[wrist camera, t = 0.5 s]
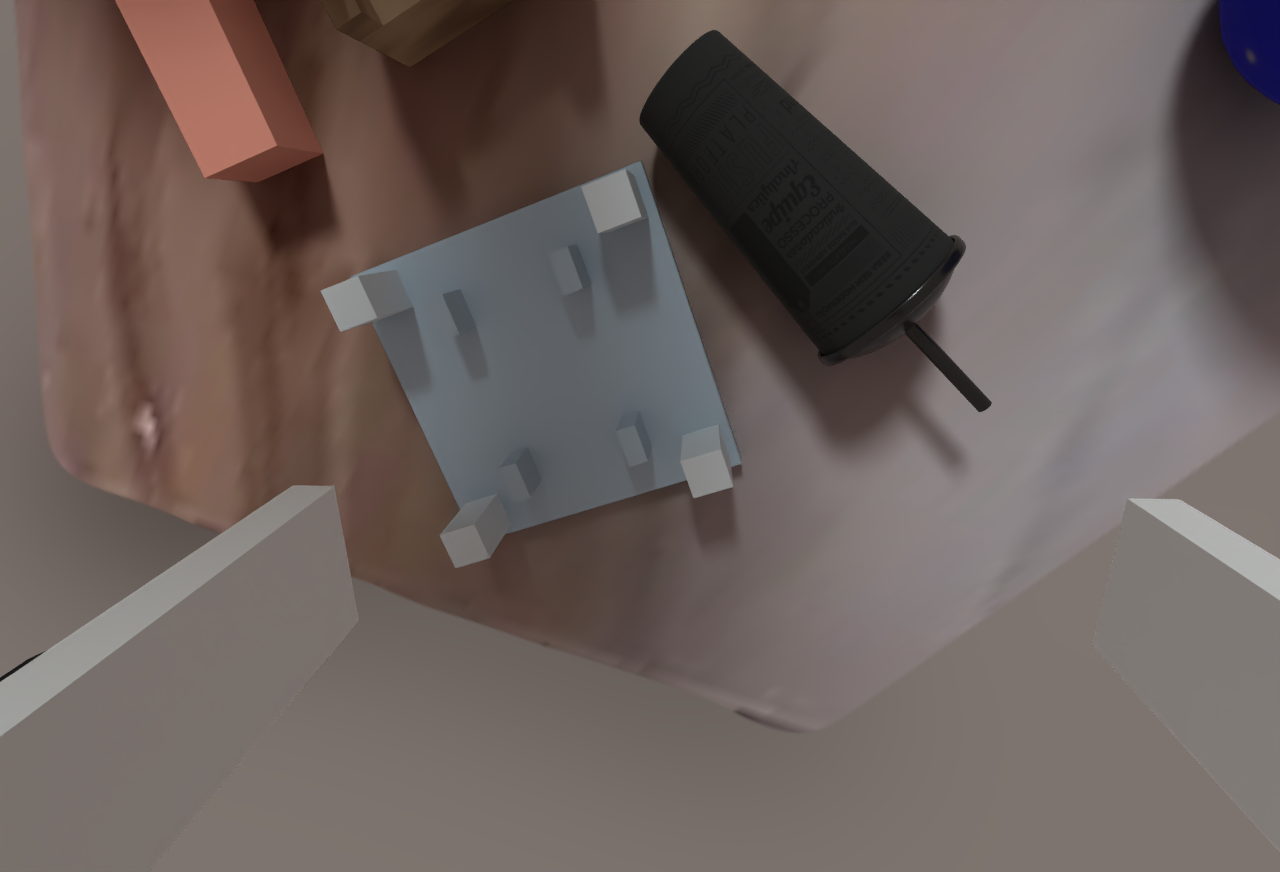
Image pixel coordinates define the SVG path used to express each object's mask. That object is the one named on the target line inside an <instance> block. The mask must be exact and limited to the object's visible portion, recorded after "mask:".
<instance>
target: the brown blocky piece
mask: <svg viewBox="0 0 1280 872" xmlns="http://www.w3.org/2000/svg"><path fill="white" fill-rule="evenodd" d="M512 1H514V0H321V2H322V4H323V6H324V8H325V9H326V11H327V13H328V15H329V17H330V18H331V20H332V22H333V24H334V26H335V28H336V29H337V30H339V31H341V32H343V33H345V34H347V35H348V36H350V37H352V38H354V39H356V40H358V41H360V42H362V43H364V44H366V45H368V46H370V47H371V48H373V49H375V50H377V51H379V52H381V53H383V54H385V55H387V56H389V57H391V58H393V59H395V60H396V61H398V62H400V63H402V64H404V65H406V66H408V67H411V66H413V65H414V64H416V63H418V62H419V61H421V60H422V59H424V58H425V57H427V56H428V55H430V54H431V53H433V52H435V51H436V50H438V49H439V48H441V47H442V46H444V45H445V44H447V43H449V42H450V41H452V40H453V39H455V38H456V37H458V36H459V35H461V34H462V33H464V32H466V31H467V30H469V29H470V28H472V27H473V26H475V25H476V24H478V23H480V22H481V21H483V20H484V19H486V18H487V17H489V16H490V15H492V14H493V13H495V12H497V11H498V10H500V9H501V8H503V7H504V6H506V5H507V4H509V3H510V2H512Z"/></svg>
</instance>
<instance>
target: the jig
mask: <svg viewBox="0 0 1280 872" xmlns="http://www.w3.org/2000/svg"><path fill="white" fill-rule="evenodd" d="M321 293H322V295H323V297H324V299H325V301H326V303H327V305H328V307H329V309H330V311H331V313H332V316H333V318H334V320H335V322H336V324H337V326H338V328H339V330H340V332H342V331H345V330H348V329H352V328H355V327H358V326H361V325H365V324H368V323H371V322H372V324H373V326H374V328H375V330H376V332H377V334H378V337H379V339H380V341H381V343H382V345H383V347H384V349H385V351H386V354H387V356H388V358H389V360H390V362H391V364H392V366H393V368H394V371H395V373H396V375H397V377H398V379H399V381H400V383H401V385H402V388H403V390H404V392H405V394H406V396H407V398H408V400H409V402H410V404H411V407H412V409H413V411H414V413H415V415H416V417H417V419H418V421H419V424H420V426H421V428H422V430H423V432H424V434H425V436H426V438H427V441H428V443H429V445H430V447H431V449H432V451H433V453H434V455H435V458H436V460H437V462H438V464H439V466H440V468H441V470H442V472H443V475H444V477H445V479H446V481H447V483H448V485H449V487H450V489H451V492H452V494H453V496H454V498H455V500H456V502H457V504H458V506H459V509H460V511H459V512H458V513H457V515H456V516H455V517H454V518H453V519H452V521H451V522H450V523H449V524H448V525H447V527H446V528H445V529H444V530H443V531H442V532H441V534H440V535H439V536H440V538H441V540H442V542H443V544H444V546H445V548H446V550H447V552H448V554H449V556H450V558H451V560H452V562H453V564H454V566H455V568H458V567H462V566H465V565H469V564H472V563H475V562H479V561H482V560H486V559H489V558H490V557H491V556H492V554H493V552H494V551H495V549H496V548H497V546H498V544H499V543H500V541H501V540H502V538H503V537H504V535H505V534H509V533H512V532H515V531H519V530H522V529H525V528H529V527H532V526H535V525H539V524H542V523H545V522H549V521H552V520H556V519H559V518H562V517H566V516H569V515H572V514H576V513H579V512H582V511H586V510H589V509H592V508H596V507H599V506H602V505H606V504H609V503H612V502H616V501H619V500H622V499H626V498H629V497H632V496H636V495H639V494H642V493H646V492H649V491H652V490H656V489H659V488H662V487H666V486H669V485H673V484H676V483H679V482H683V481H686V480H687V482H688V485H689V487H690V490H691V493H692V496H693V498H697V497H701V496H704V495H707V494H711V493H714V492H718V491H721V490H724V489H728V488H731V487H733V479H732V470H731V467H733V466H736V465H739V464H742V461H741V456H740V453H739V450H738V447H737V444H736V441H735V438H734V435H733V432H732V429H731V426H730V423H729V420H728V417H727V414H726V411H725V408H724V405H723V402H722V399H721V396H720V393H719V390H718V387H717V384H716V381H715V378H714V375H713V372H712V369H711V366H710V363H709V360H708V357H707V354H706V351H705V348H704V345H703V342H702V339H701V336H700V333H699V330H698V327H697V324H696V321H695V318H694V315H693V312H692V309H691V306H690V303H689V300H688V297H687V294H686V291H685V288H684V285H683V282H682V279H681V276H680V273H679V270H678V267H677V264H676V261H675V258H674V255H673V252H672V249H671V246H670V243H669V240H668V237H667V234H666V231H665V228H664V225H663V222H662V219H661V216H660V213H659V210H658V207H657V204H656V201H655V198H654V195H653V192H652V189H651V186H650V183H649V180H648V177H647V174H646V171H645V168H644V165H643V162H642V161H639V162H636V163H634V164H631V165H629V166H626V167H624V168H621V169H619V170H616V171H614V172H611V173H609V174H606V175H604V176H601V177H599V178H596V179H594V180H591V181H589V182H586V183H584V184H581V185H579V186H576V187H574V188H571V189H569V190H566V191H564V192H561V193H559V194H556V195H554V196H551V197H549V198H546V199H544V200H541V201H539V202H536V203H534V204H531V205H529V206H526V207H524V208H521V209H519V210H516V211H514V212H511V213H509V214H506V215H504V216H501V217H499V218H496V219H494V220H491V221H489V222H486V223H484V224H481V225H479V226H476V227H474V228H471V229H469V230H466V231H464V232H461V233H459V234H456V235H454V236H451V237H449V238H446V239H444V240H441V241H439V242H436V243H434V244H431V245H429V246H426V247H424V248H421V249H419V250H416V251H414V252H411V253H409V254H406V255H404V256H401V257H399V258H396V259H394V260H391V261H389V262H386V263H384V264H381V265H379V266H376V267H374V268H371V269H369V270H366V271H364V272H361V273H359V274H356V275H354V276H351V279H349V280H346V281H344V282H341V283H339V284H336V285H334V286H331V287H329V288H326V289H324V290H321Z"/></svg>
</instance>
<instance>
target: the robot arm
mask: <svg viewBox="0 0 1280 872" xmlns="http://www.w3.org/2000/svg"><path fill="white" fill-rule="evenodd" d="M358 621H359V617H358V612H357V607H356V601H355V595H354V590H353V585H352V579H351V574H350V568H349V563H348V557H347V552H346V547H345V541H344V536H343V530H342V525H341V519H340V514H339V509H338V503H337V498H336V492H335V487H334V486H296V485H293V486H291V487H290V488H288V489H287V490H285V491H284V492H282V493H281V494H279V495H278V496H276V497H275V498H274V499H272V500H271V501H269V502H268V503H266V504H265V505H263V506H262V507H260V508H259V509H257V510H256V511H254V512H253V513H251V514H250V515H248V516H247V517H245V518H244V519H242V520H241V521H239V522H238V523H236V524H235V525H233V526H232V527H230V528H229V529H227V530H226V531H224V532H223V533H221V534H220V535H218V536H217V537H215V538H214V539H212V540H211V541H209V542H208V543H207V544H205V545H204V546H202V547H201V548H199V549H198V550H196V551H195V552H193V553H192V554H190V555H189V556H187V557H186V558H184V559H183V560H182V561H180V562H178V563H177V564H175V565H174V566H172V567H171V568H169V569H168V570H166V571H165V572H163V573H162V574H160V575H159V576H157V577H156V578H155V579H153V580H151V581H150V582H148V583H147V584H146V585H144V586H143V587H141V588H140V589H138V590H137V591H135V592H134V593H132V594H131V595H129V596H128V597H126V598H125V599H123V600H122V601H121V602H119V603H117V604H116V605H114V606H113V607H111V608H110V609H108V610H107V611H105V612H104V613H103V614H101V615H99V616H98V617H96V618H95V619H93V620H92V621H90V622H89V623H88V624H86V625H84V626H83V627H82V628H80V629H79V630H77V631H76V632H74V633H73V634H71V635H70V636H68V637H67V638H65V639H64V640H62V641H61V642H59V643H58V644H56V645H55V646H53V647H52V648H50V649H49V650H46V651H44V652H42V653H40V654H38V655H36V656H34V657H32V658H30V659H28V660H26V661H25V662H23V663H22V664H20V665H19V666H17V667H16V668H14V669H13V670H11V671H10V672H8V673H6V674H5V675H3V676H2V677H1V678H0V872H150V871H151V870H152V868H153V867H154V866H155V865H156V864H157V862H158V861H159V860H160V859H161V858H162V856H163V855H164V854H165V853H166V852H167V850H168V849H169V848H170V847H171V846H172V844H173V843H174V842H175V841H176V840H177V838H178V837H179V836H180V835H181V834H182V832H183V831H184V830H185V829H186V828H187V826H188V825H189V824H190V823H191V822H192V820H193V819H194V818H195V817H196V815H197V814H198V813H199V812H200V811H201V810H202V808H203V807H204V806H205V805H206V803H207V802H208V801H209V800H210V799H211V798H212V796H213V795H214V794H215V793H216V792H217V790H218V789H219V788H220V787H221V785H222V784H223V783H224V782H225V781H226V780H227V778H228V777H229V776H230V775H231V774H232V772H233V771H234V770H235V769H236V768H237V766H238V765H239V764H240V763H241V762H242V760H243V759H244V758H245V757H246V756H247V754H248V753H249V752H250V751H251V750H252V748H253V747H254V746H255V745H256V744H257V742H258V741H259V740H260V739H261V738H262V736H263V735H264V734H265V733H266V732H267V730H268V729H269V728H270V727H271V726H272V724H273V723H274V722H275V721H276V720H277V718H278V717H279V716H280V715H281V714H282V712H283V711H284V710H285V709H286V708H287V706H288V705H289V704H290V703H291V701H292V700H293V699H294V698H295V697H296V696H297V694H298V693H299V692H300V691H301V690H302V688H303V687H304V686H305V685H306V684H307V682H308V681H309V680H310V679H311V678H312V677H313V675H314V674H315V673H316V672H317V671H318V669H319V668H320V667H321V666H322V664H323V663H324V662H325V661H326V660H327V659H328V657H329V656H330V655H331V654H332V652H333V651H334V650H335V649H336V648H337V646H338V645H339V644H340V643H341V642H342V641H343V639H344V638H345V637H346V636H347V634H348V633H349V632H350V631H351V630H352V629H353V627H354V626H355V625H356V624H357V623H358ZM1093 647H1094V648H1095V649H1096V650H1097V651H1098V652H1099V654H1100V655H1101V656H1102V657H1103V658H1104V659H1105V660H1106V661H1107V662H1108V663H1109V665H1111V667H1112V668H1113V669H1114V670H1115V671H1116V672H1117V673H1118V675H1119V676H1120V677H1121V678H1122V679H1123V680H1124V681H1125V682H1126V683H1127V684H1128V686H1129V687H1130V688H1131V689H1132V690H1133V691H1134V692H1135V693H1136V694H1137V695H1138V697H1139V698H1140V699H1141V700H1142V701H1143V702H1144V703H1145V704H1146V705H1147V706H1148V708H1149V709H1150V710H1151V711H1152V712H1153V713H1154V714H1155V715H1156V716H1157V718H1158V719H1159V720H1160V721H1161V722H1162V723H1163V724H1164V725H1165V726H1166V727H1167V729H1168V730H1169V731H1170V732H1171V733H1172V734H1173V735H1174V736H1175V737H1176V739H1177V740H1178V741H1179V742H1180V743H1181V744H1182V745H1183V746H1184V747H1185V748H1186V750H1187V751H1188V752H1189V753H1190V754H1191V755H1192V756H1193V757H1194V758H1195V759H1196V761H1197V762H1198V763H1199V764H1200V765H1201V766H1202V767H1203V768H1204V769H1205V771H1206V772H1207V773H1209V775H1210V776H1211V777H1212V778H1213V779H1214V780H1215V781H1216V783H1217V784H1218V785H1219V786H1220V787H1221V788H1222V789H1223V790H1224V791H1225V793H1226V794H1227V795H1228V796H1229V797H1230V798H1231V799H1232V800H1233V801H1234V802H1235V804H1236V805H1237V806H1238V807H1239V808H1240V809H1241V810H1242V811H1243V812H1244V813H1245V815H1246V816H1247V817H1248V818H1249V819H1250V820H1251V821H1252V822H1253V823H1254V825H1255V826H1256V827H1257V828H1258V829H1259V830H1260V831H1261V832H1262V833H1263V834H1264V836H1265V837H1266V838H1267V839H1268V840H1269V841H1270V842H1271V843H1272V844H1273V846H1275V848H1276V849H1277V850H1278V851H1279V852H1280V559H1278V558H1276V557H1275V556H1273V555H1271V554H1270V553H1268V552H1266V551H1265V550H1263V549H1261V548H1260V547H1258V546H1256V545H1255V544H1253V543H1251V542H1250V541H1248V540H1246V539H1245V538H1243V537H1241V536H1240V535H1238V534H1236V533H1235V532H1233V531H1231V530H1230V529H1228V528H1226V527H1225V526H1223V525H1221V524H1220V523H1218V522H1216V521H1215V520H1213V519H1211V518H1210V517H1208V516H1206V515H1205V514H1203V513H1201V512H1199V511H1198V510H1196V509H1194V508H1193V507H1191V506H1189V505H1188V504H1186V503H1185V502H1183V501H1181V500H1179V499H1127V503H1126V507H1125V511H1124V516H1123V520H1122V524H1121V528H1120V532H1119V537H1118V541H1117V545H1116V549H1115V553H1114V558H1113V562H1112V566H1111V570H1110V575H1109V579H1108V583H1107V588H1106V591H1105V596H1104V600H1103V604H1102V608H1101V613H1100V617H1099V621H1098V625H1097V629H1096V633H1095V637H1094V642H1093Z"/></svg>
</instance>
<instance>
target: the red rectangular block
mask: <svg viewBox="0 0 1280 872" xmlns="http://www.w3.org/2000/svg"><path fill="white" fill-rule="evenodd" d="M115 1H116V3H117V5H118V7H119V9H120V11H121V13H122V15H123V17H124V19H125V21H126V23H127V25H128V27H129V29H130V31H131V33H132V35H133V37H134V39H135V41H136V43H137V45H138V47H139V49H140V51H141V53H142V55H143V57H144V59H145V61H146V63H147V65H148V67H149V69H150V71H151V73H152V75H153V76H154V78H155V80H156V82H157V84H158V86H159V88H160V90H161V92H162V94H163V96H164V98H165V100H166V102H167V104H168V106H169V108H170V110H171V112H172V114H173V116H174V118H175V120H176V122H177V124H178V126H179V128H180V130H181V132H182V134H183V136H184V138H185V140H186V142H187V144H188V146H189V148H190V150H191V152H192V154H193V156H194V158H195V160H196V162H197V164H198V166H199V168H200V170H201V171H202V173H203V175H204V177H205V178H211V179H223V180H234V181H246V182H260V181H262V180H264V179H267V178H269V177H271V176H273V175H276V174H278V173H280V172H283V171H285V170H287V169H289V168H292V167H294V166H296V165H299V164H301V163H303V162H305V161H308V160H310V159H312V158H315V157H317V156H319V155H321V154H323V152H322V150H321V147H320V145H319V143H318V141H317V139H316V136H315V134H314V132H313V130H312V128H311V125H310V123H309V121H308V119H307V117H306V114H305V112H304V110H303V108H302V106H301V103H300V101H299V99H298V97H297V94H296V92H295V90H294V88H293V86H292V83H291V81H290V79H289V77H288V75H287V72H286V70H285V68H284V66H283V64H282V61H281V59H280V57H279V55H278V53H277V50H276V48H275V46H274V44H273V42H272V39H271V37H270V35H269V33H268V31H267V28H266V26H265V24H264V22H263V20H262V17H261V15H260V13H259V11H258V9H257V6H256V4H255V2H254V0H115Z"/></svg>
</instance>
